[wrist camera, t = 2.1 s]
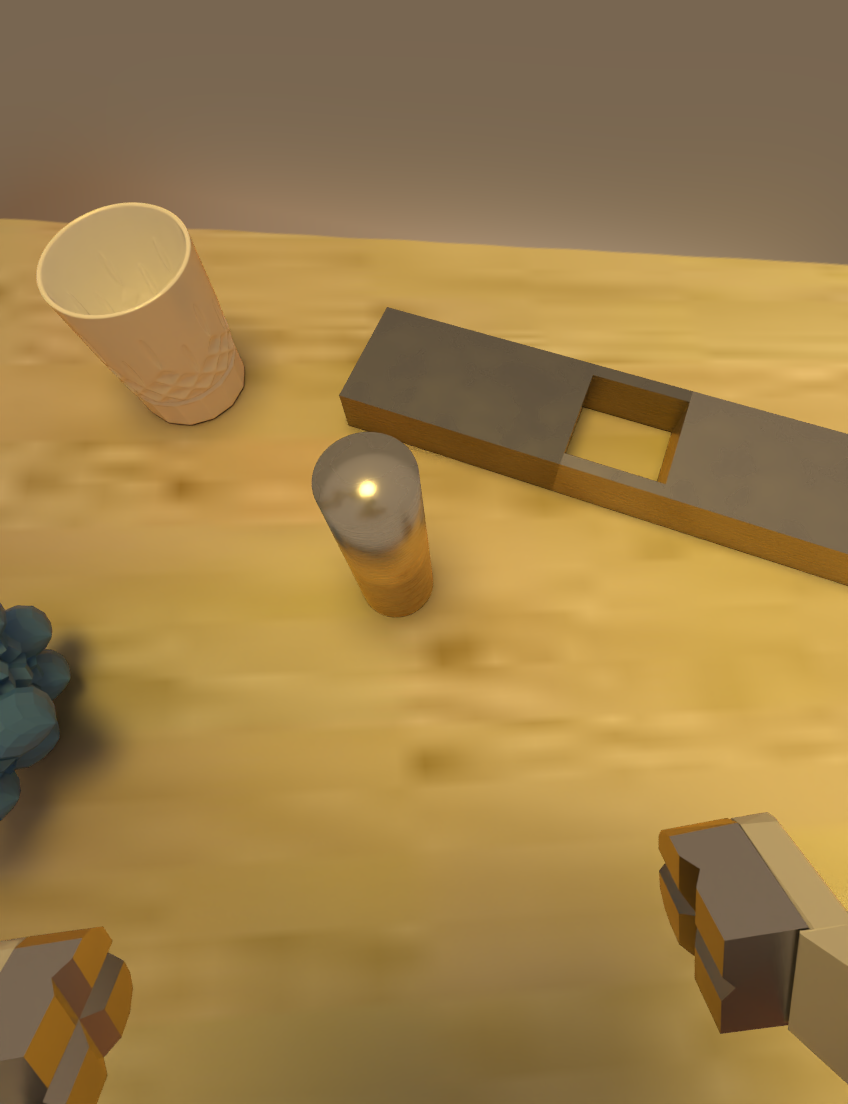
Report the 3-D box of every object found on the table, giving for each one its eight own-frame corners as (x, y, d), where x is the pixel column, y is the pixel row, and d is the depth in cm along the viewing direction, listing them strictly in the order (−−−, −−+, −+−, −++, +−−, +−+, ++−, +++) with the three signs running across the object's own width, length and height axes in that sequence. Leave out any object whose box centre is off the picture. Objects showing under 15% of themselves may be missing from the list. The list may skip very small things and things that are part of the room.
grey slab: (348, 424, 37) (339, 395, 34) (392, 341, 39) (387, 307, 36) (896, 601, 31) (939, 582, 28) (911, 490, 33) (952, 462, 30)
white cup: (143, 341, 40) (50, 209, 31) (256, 330, 40) (196, 194, 31) (130, 439, 38) (22, 325, 28) (252, 428, 37) (183, 309, 28)
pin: (350, 602, 33) (293, 506, 22) (379, 540, 34) (339, 419, 23) (416, 627, 32) (393, 542, 21) (443, 563, 33) (435, 450, 22)
